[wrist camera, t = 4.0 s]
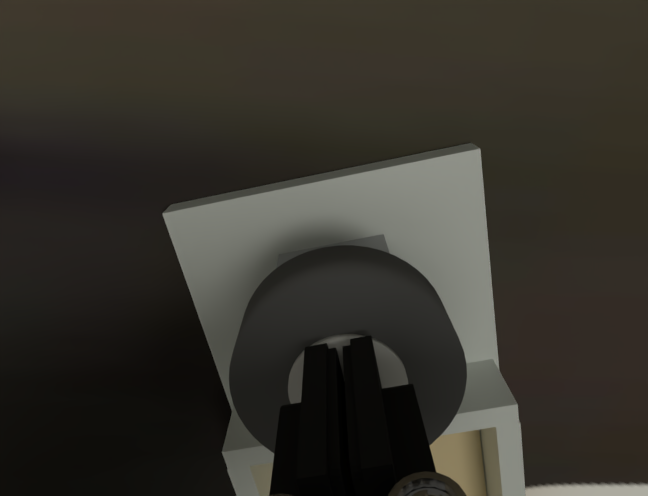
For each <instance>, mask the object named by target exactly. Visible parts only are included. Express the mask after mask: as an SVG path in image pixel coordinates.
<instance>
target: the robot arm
mask: <svg viewBox="0 0 648 496" xmlns="http://www.w3.org/2000/svg"><path fill="white" fill-rule="evenodd" d="M342 349H343V366H344V378H343V374H342V369H341V365H340V361H339V357H338V353H337V349H336V348H330V349H329V348H328V345H327V343H325V344H319V345H313V346H308V347H305V350H304V364H303V380H302V395H301V402H299V403H294V404H288V405H282V406H281V407H280V412H279V420H278V428H277V436H276V444H275V452H274V460H273V469H272V477H271V485H270V493H269V496H466V494H465V492H464V491H463V490H462V488H461V487H460V485H459V484H458V483H456V482H455V481H454V480H452V479H451V478H450V477H448V476H445V475H443V474H440V473H437V472H436V469H435V465H434V461H433V457H432V453H431V450H430V446H429V442H428V438H427V435H426V431H425V427H424V423H423V419H422V416H421V412H420V408H419V404H418V401H417V397H416V393H415V389H414V386H413V384H407V385H401V386H395V387H389V388H383V389H382V386H381V381H380V376H379V371H378V366H377V361H376V356H375V351H374V346H373V341H372V336H371V335H370V336H364V337H359V338H353V339H350V345H347V346H343V347H342Z"/></svg>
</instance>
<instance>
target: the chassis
mask: <svg viewBox="0 0 648 496" xmlns="http://www.w3.org/2000/svg"><path fill="white" fill-rule="evenodd" d="M162 214H163V217H164V220H165V223H166V226H167V228H168V231H169V234H170V237H171V240H172V243H173V245H174V248H175V251H176V254H177V257H178V260H179V262H180V265H181V268H182V271H183V274H184V277H185V279H186V282H187V285H188V288H189V291H190V294H191V296H192V299H193V302H194V305H195V308H196V311H197V313H198V316H199V319H200V322H201V325H202V328H203V330H204V333H205V336H206V339H207V342H208V345H209V347H210V350H211V353H212V356H213V359H214V362H215V364H216V367H217V370H218V373H219V376H220V379H221V381H222V384H223V387H224V390H225V393H226V396H227V398H228V401H229V404H230V407H231V410H232V414H231V418H230V422H229V426H228V430H227V434H226V438H225V442H224V446H223V450H222V454H223V457H224V459H225V462H226V465H227V471H228V474H229V476H230V479H231V482H232V484H233V487H234V490H235V492H236V495H237V496H269V493H270V485H271V477H272V469H273V460H274V453H273V452H271V451H270V450H268V449H267V448H266V447H264V446H263V445H262V444H261V443H260V442H259V441H258V440H256V439H255V438H254V437H253V436H252V434H251V433H250V432H249V431H248V430H247V428H246V427H245V426H244V424H243V422H242V421H241V419H240V418H239V416H238V414H237V412H236V409H235V407H234V405H233V401H232V397H231V394H230V386H229V367H230V362H231V357H232V353H233V350H234V346H235V343H236V340H237V336H238V333H239V330H240V326H241V323H242V320H243V316H244V313H245V310H246V308H247V305H248V303H249V300H250V299H251V297H252V295H253V293H254V292H255V290H256V289H257V288H258V286H259V285H260V284H261V282H262V281H263V280H264V279H265V278H266V277H267V276H268V275H269V274H270V273H271V272H272V271H273V270H275V269H276V268H278V267H279V266H280V265H282V264H283V263H285V262H286V261H288V260H290V259H292V258H294V257H296V256H298V255H300V254H303V253H305V252H308V251H311V250H315V249H319V248H323V247H330V246H337V245H355V246H363V247H370V248H374V249H378V250H382V251H384V252H387V253H390V254H392V255H395V256H397V257H398V258H400V259H402V260H404V261H406V262H408V263H409V264H410V265H412V266H413V267H414V268H416V269H417V270H418V271H419V272H420V273H421V274H422V275H424V276H425V277H426V278H427V279H428V281H429V282H430V283H431V285H432V286H433V287H434V288H435V290H436V292H437V294H438V295H439V297H440V299H441V301H442V303H443V305H444V307H445V310H446V312H447V314H448V316H449V318H450V320H451V322H452V325H453V327H454V329H455V331H456V333H457V335H458V337H459V340H460V342H461V345H462V348H463V350H464V354H465V359H466V364H467V381H466V389H465V393H464V397H463V400H462V403H461V405H460V408H459V410H458V412H457V414H456V416H455V417H454V419H453V420H452V422H451V424H450V425H449V426H448V428H447V429H446V430H445V431H444V432H443V433H442V435H441V436H440V437H439V438H437V439H436V440H435V441H434V442H433V443H432V444H431V445H429V446H430V450H431V453H432V457H433V461H434V465H435V469H436V472H437V473H440V474H443V475H445V476H448V477H450V478H451V479H452V480H454V481H455V482H456V483H458V484H459V485H460V487H461V488H462V490H463V491H464V492H465V494H466V496H525V483H524V468H523V454H522V439H521V425H520V421H519V418H518V404H517V402H516V401H515V399H514V397H513V395H512V393H511V391H510V390H509V388H508V386H507V384H506V382H505V380H504V379H503V377H502V375H501V373H500V371H499V362H498V351H497V339H496V327H495V316H494V304H493V292H492V281H491V269H490V257H489V246H488V234H487V222H486V211H485V199H484V187H483V176H482V164H481V152H480V148H478V147H477V146H475V145H474V144H472V143H468V144H463V145H458V146H453V147H448V148H444V149H439V150H434V151H429V152H424V153H419V154H414V155H409V156H405V157H400V158H395V159H390V160H385V161H380V162H375V163H371V164H366V165H361V166H356V167H351V168H346V169H341V170H336V171H332V172H327V173H322V174H317V175H312V176H307V177H302V178H298V179H293V180H288V181H283V182H278V183H273V184H268V185H263V186H259V187H254V188H249V189H244V190H239V191H234V192H229V193H225V194H220V195H215V196H210V197H205V198H200V199H195V200H190V201H186V202H181V203H176V204H171V205H170V206H169V207H168V208H167V209H166V210H165V211H164V212H163V213H162Z"/></svg>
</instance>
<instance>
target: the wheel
mask: <svg viewBox="0 0 648 496" xmlns="http://www.w3.org/2000/svg"><path fill="white" fill-rule="evenodd" d="M370 335H371V336H372V341H373V346H374V351H375V356H376V361H377V366H378V371H379V376H380V381H381V386H382V389H383V388H389V387H395V386H401V385H407V384H413V386H414V389H415V393H416V397H417V401H418V404H419V408H420V412H421V416H422V419H423V423H424V427H425V431H426V435H427V438H428V442H429V445H431V444H432V443H433V442H434V441H435V440H436V439H437V438H439V437H440V436H441V435H442V433H443V432H444V431H445V430H446V429H447V428H448V426H449V425H450V424H451V422H452V420H453V419H454V417H455V416H456V414H457V412H458V410H459V408H460V405H461V403H462V400H463V397H464V393H465V389H466V381H467V364H466V359H465V354H464V350H463V348H462V345H461V342H460V340H459V337H458V335H457V333H456V331H455V329H454V327H453V325H452V322H451V320H450V318H449V316H448V314H447V312H446V310H445V307H444V305H443V303H442V301H441V299H440V297H439V295H438V294H437V292H436V290H435V288H434V287H433V286H432V285H431V283H430V282H429V281H428V279H427V278H426V277H425V276H424V275H422V274H421V273H420V272H419V271H418V270H417V269H416V268H414V267H413V266H412V265H410V264H409V263H408V262H406V261H404V260H402V259H400V258H398V257H397V256H395V255H392V254H390V253H387V252H384V251H382V250H378V249H374V248H370V247H363V246H355V245H337V246H330V247H323V248H319V249H315V250H311V251H308V252H305V253H303V254H300V255H298V256H296V257H294V258H292V259H290V260H288V261H286V262H285V263H283V264H282V265H280V266H279V267H278V268H276V269H275V270H273V271H272V272H271V273H270V274H269V275H268V276H267V277H266V278H265V279H264V280H263V281H262V282H261V284H260V285H259V286H258V288H257V289H256V290H255V292H254V293H253V295H252V297H251V299H250V300H249V303H248V305H247V308H246V310H245V313H244V316H243V320H242V323H241V326H240V330H239V333H238V336H237V340H236V343H235V346H234V350H233V353H232V357H231V362H230V367H229V386H230V394H231V397H232V401H233V405H234V407H235V409H236V412H237V414H238V416H239V418H240V419H241V421H242V422H243V424H244V426H245V427H246V428H247V430H248V431H249V432H250V433H251V434H252V436H253V437H254V438H255V439H256V440H258V441H259V442H260V443H261V444H262V445H263V446H264V447H266V448H267V449H268V450H270V451H271V452H273V453H274V452H275V444H276V436H277V428H278V420H279V412H280V407H281V406H282V405H288V404H294V403H299V402H301V395H302V380H303V364H304V350H305V347H308V346H313V345H319V344H325V343H327V345H328V348H329V349H330V348H336V349H337V353H338V357H339V361H340V365H341V369H342V374H343V378H344V366H343V349H342V347H343V346H347V345H350V339H353V338H359V337H364V336H370Z"/></svg>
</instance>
